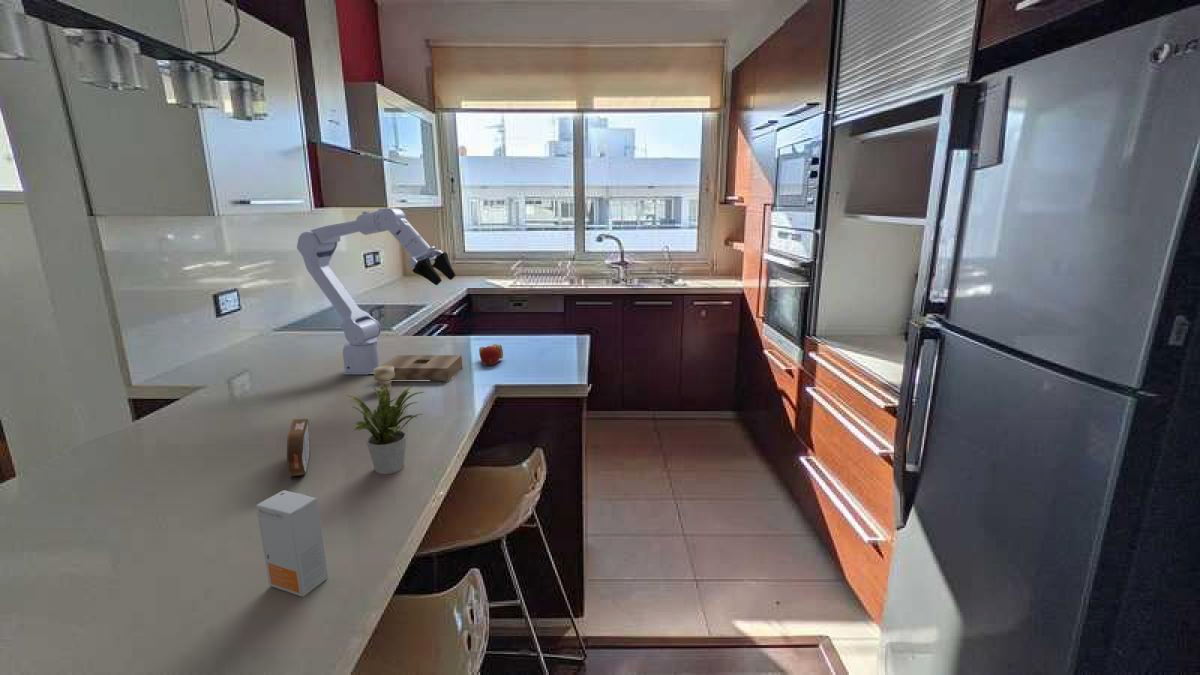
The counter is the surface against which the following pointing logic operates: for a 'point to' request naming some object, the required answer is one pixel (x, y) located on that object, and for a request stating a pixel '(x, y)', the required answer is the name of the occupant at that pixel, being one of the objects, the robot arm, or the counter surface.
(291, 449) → the tin
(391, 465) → the house plant
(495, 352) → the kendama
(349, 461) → the counter surface
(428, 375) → the board
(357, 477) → the counter surface
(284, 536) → the skincare box
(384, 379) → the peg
